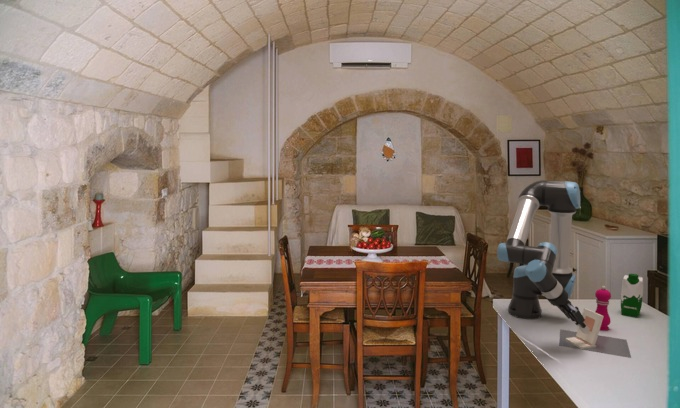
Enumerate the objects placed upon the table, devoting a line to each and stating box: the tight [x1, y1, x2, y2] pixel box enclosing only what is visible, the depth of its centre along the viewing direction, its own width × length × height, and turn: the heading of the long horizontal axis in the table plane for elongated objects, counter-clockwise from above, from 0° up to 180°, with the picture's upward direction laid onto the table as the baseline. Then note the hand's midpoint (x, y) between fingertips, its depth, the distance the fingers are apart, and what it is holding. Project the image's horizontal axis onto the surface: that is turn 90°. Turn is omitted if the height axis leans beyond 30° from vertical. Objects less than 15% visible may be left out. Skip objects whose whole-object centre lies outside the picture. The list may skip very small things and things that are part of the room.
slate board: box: [558, 328, 632, 359], centre depth 197 cm, size 19×25×1 cm
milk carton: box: [620, 273, 645, 319], centre depth 231 cm, size 9×9×20 cm
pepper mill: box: [594, 285, 612, 331], centre depth 211 cm, size 7×7×20 cm
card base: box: [565, 337, 596, 350], centre depth 196 cm, size 7×9×1 cm
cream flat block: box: [576, 307, 604, 345], centre depth 196 cm, size 2×9×12 cm, turn 16°
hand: (586, 330), depth 194 cm, fingers closed
